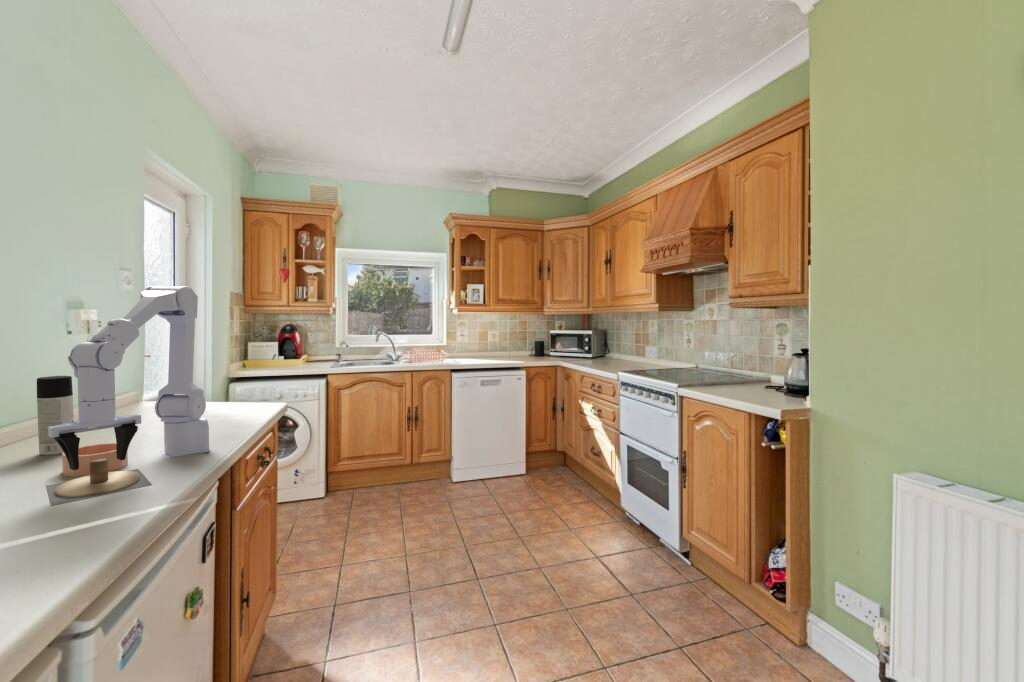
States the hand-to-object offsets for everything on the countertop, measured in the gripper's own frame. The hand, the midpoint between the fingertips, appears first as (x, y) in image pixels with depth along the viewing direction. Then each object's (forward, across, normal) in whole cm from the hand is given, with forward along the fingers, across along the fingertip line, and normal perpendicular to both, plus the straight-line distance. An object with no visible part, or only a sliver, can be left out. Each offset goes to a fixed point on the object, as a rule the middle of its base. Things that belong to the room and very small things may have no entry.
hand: (98, 464), depth 95 cm
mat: (+5, 0, 0) cm, 5 cm away
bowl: (+5, -4, -14) cm, 16 cm away
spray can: (+5, -6, -41) cm, 42 cm away
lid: (+4, 0, 0) cm, 5 cm away
